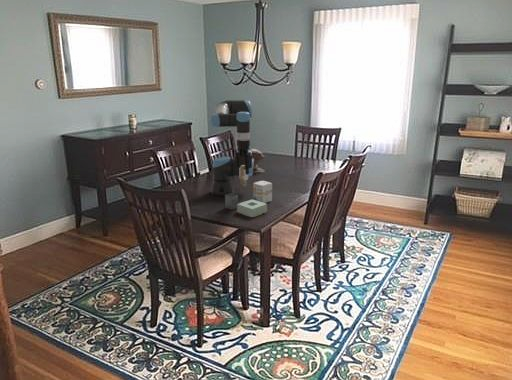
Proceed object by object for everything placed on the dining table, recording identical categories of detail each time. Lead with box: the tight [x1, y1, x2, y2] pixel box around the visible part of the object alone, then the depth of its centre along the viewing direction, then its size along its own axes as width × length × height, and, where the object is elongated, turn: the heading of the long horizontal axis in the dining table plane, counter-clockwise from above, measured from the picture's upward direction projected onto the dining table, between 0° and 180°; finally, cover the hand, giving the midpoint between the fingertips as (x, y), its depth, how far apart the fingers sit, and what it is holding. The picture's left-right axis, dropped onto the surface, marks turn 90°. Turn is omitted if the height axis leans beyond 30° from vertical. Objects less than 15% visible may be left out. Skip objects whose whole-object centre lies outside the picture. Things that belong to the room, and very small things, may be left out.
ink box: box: [252, 180, 273, 204], centre depth 249 cm, size 9×8×12 cm
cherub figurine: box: [249, 148, 266, 174], centre depth 321 cm, size 18×18×18 cm
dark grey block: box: [224, 193, 239, 211], centre depth 238 cm, size 6×6×8 cm
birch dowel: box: [239, 165, 248, 187], centre depth 239 cm, size 4×4×12 cm
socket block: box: [236, 198, 268, 218], centre depth 231 cm, size 12×12×5 cm
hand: (243, 178), depth 240 cm, fingers closed on birch dowel, 3 cm apart
